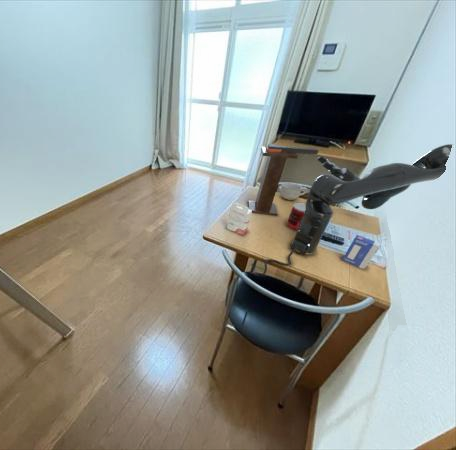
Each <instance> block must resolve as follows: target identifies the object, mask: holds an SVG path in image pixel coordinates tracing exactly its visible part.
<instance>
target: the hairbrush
mask: <svg viewBox="0 0 456 450" xmlns="http://www.w3.org/2000/svg"><path fill="white" fill-rule="evenodd" d="M265 147H266V149H267V151H268V152H291V153H297V154H305V155H318V153H319V151H320V150H319V149H318V148H313V147H311V148H310V147H298V146H285V145H280V144H271V143H268V144H267V145H266V146H265Z"/></svg>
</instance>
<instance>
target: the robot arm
mask: <svg viewBox="0 0 456 450" xmlns="http://www.w3.org/2000/svg"><path fill="white" fill-rule="evenodd" d="M452 145H453V144H452V143H451V144H450V143H449V144H448V143H447V144H443V145H440V146H438V147H435V148H432V149H431V150H429V151H427V152H426V153H424V154H422V155H421V156H420V157H419V158H418V159H416V160H415V161H413V162H412V163H405V162H392V163H388V164H387V163H386V164H383V165H379V166H376V167H374V168H372V169H370V170H369V171H368V172H367V173H366V174H365V175H364V176H363V177H362V178H360V177H359V176H358V175H357V174H355V172H354V171H352V170H351V169H349V168H347V167H343V168H340V167H339V165H336V164H335V163H334V162H331V161H330V160H329V159H327V158H325V157H323V156H322V155H319V156H318V157H317V158H316V161H318V162H320V163H321V164H322V167H323V168H325V169H326V170H327V171H328V172H329V173H324V174H321V175H320V176H318V177H317V178H315V180H314V181H313V183H312V185H311V187H310V189H309V193H308V195H307V199H306V201H305V204H306V210H305V212H304V215H303V217H302V220H301V222H300V224H299V227H298V229H297V230H296V232H295V234H294V236H293V239H292V241H291V243H290V250H291V251H290V253H289V254H288V256H287V261H288V262H287V263H285V262H282V261H279V260H276V259H273V258H269V259H267V260H265V261H264V270H263V273H262V276H265V275H266V273H267V270H268V262H273V263H276V264H278V265H282V266H290V265H291V264H292V261H291V256H292V255H293V254H294V252H296V253H298V254H299V255H301V256H303V257H306V256H312V255H314V254H315V253H316V250H317V248H318V246H319V244H320V242H321V240H322V237H324V233H325V232H326V230H327V227H328V226H329V224H330V221H331V219H332V218H333V215H334V211H333V209H332V207H331V206H337V205H340V204H344V203H346V202H349V201H353V200H355V199H358V198H361V197H362V199H361V207H363V208H364V209H366V210H375V209H379V208H380V207H382V206H383V205H384V204H386V203H387V202H389V200H391V199H392V198H394V197H396V196H397V195H399V194H401V193H403V192H405V191H406V190H408V189H409V188H410V187H411V185H414V184H418V183H423V182H430V181H435V179H437V178H439V177H440V176H441V175H442V174H443V173H444V172H445V170H446V166H445V164H446V162H447V160H448V158H449V155H450V152H451V148H452ZM437 180H438V179H437ZM248 314H249V312H248V309H246V310H245V314H244V316H243V320H242V323H241V325H242V326H243V327H244V325H245V322H246V319H247V316H248ZM240 337H241V334H239V333H238V335H237V337H236V339H237V340H239V339H240Z"/></svg>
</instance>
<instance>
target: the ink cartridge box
mask: <svg viewBox="0 0 456 450" xmlns="http://www.w3.org/2000/svg"><path fill="white" fill-rule="evenodd" d="M251 218H252V210H250V209H249V206H246V205H243V204H240V203H238V202H235V201H232V202H231V206H230V211H229V215H228V220H227V224H226V229H227V230H230V231H232V232H234V233H237V234H238V235H241V236H243V235H244V234H246V233H247V232H248V228H249V225H250V221H251Z"/></svg>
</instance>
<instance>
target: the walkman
mask: <svg viewBox="0 0 456 450" xmlns="http://www.w3.org/2000/svg"><path fill="white" fill-rule="evenodd" d="M381 245H382V243H381V242H378V241H376V240H373V239H370V238H366V237H364V236H361V235H359V234H356V235H355V237H354V238H353V240H352V241H351V244H350V245H349V247H348V249H347V250H346V252H345V253H344V256H343V257H342V259H341V261H344V262H346V263H348V264H350V265H352V266H355V267H357V268H360V269H362V270H365V269H366V267H367V266H368V264H370V261H371V260H372V259H373V257H374V256H375V254H377V252H378V251H379V249H380V247H381Z"/></svg>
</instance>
